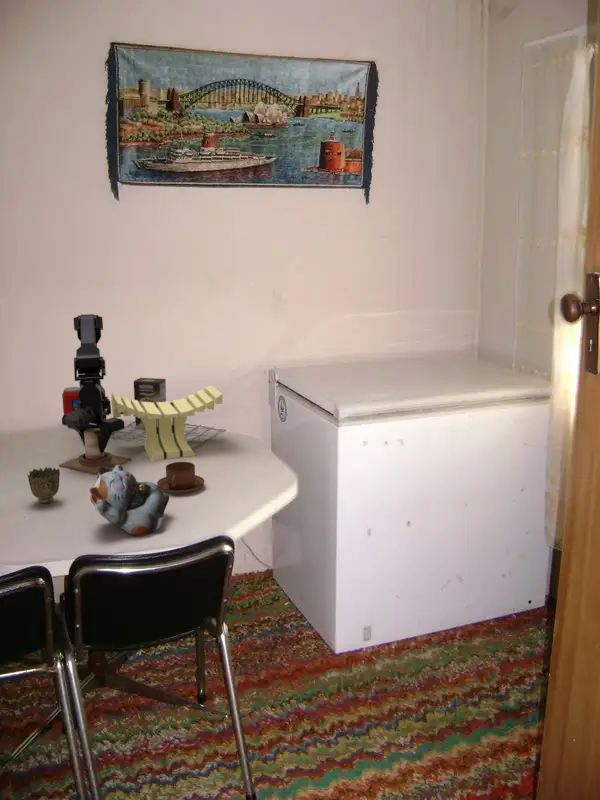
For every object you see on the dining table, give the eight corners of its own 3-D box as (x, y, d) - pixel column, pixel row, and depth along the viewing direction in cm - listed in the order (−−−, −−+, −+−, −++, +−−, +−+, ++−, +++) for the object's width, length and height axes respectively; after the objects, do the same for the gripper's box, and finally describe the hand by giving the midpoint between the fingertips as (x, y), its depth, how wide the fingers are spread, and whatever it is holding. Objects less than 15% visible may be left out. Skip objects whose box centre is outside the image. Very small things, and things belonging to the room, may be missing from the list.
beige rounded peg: (95, 454, 215) (93, 427, 214) (108, 457, 213) (106, 429, 211) (81, 459, 211) (79, 431, 209) (95, 462, 209) (93, 434, 207)
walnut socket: (95, 453, 222) (94, 446, 221) (131, 460, 215) (130, 453, 214) (59, 466, 210) (58, 459, 209) (96, 474, 203) (95, 467, 203)
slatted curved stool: (211, 438, 237) (209, 383, 233) (223, 452, 222) (222, 394, 218) (114, 447, 227) (110, 390, 223) (120, 463, 212) (117, 402, 208)
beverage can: (81, 426, 250) (79, 391, 248) (61, 426, 251) (58, 391, 248) (87, 420, 257) (85, 386, 254) (68, 420, 257) (65, 386, 254)
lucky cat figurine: (156, 539, 162) (117, 485, 156) (107, 555, 167) (67, 503, 160) (178, 492, 176) (143, 441, 170) (132, 508, 181) (96, 458, 175)
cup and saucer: (205, 495, 188) (204, 472, 187) (157, 498, 186) (155, 475, 185) (203, 479, 200) (202, 457, 198) (157, 482, 198) (156, 460, 196)
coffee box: (135, 428, 247) (132, 381, 243) (142, 423, 253) (139, 377, 249) (161, 430, 246) (159, 382, 242) (168, 424, 252) (165, 377, 248)
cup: (37, 496, 187) (34, 466, 185) (66, 497, 187) (63, 466, 185) (25, 508, 180) (22, 476, 178) (55, 508, 180) (53, 476, 178)
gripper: (44, 399, 206) (49, 453, 209) (94, 408, 197) (98, 464, 200) (74, 391, 215) (78, 443, 219) (124, 399, 206) (127, 453, 210)
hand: (94, 451), depth 212 cm, fingers closed on beige rounded peg, 5 cm apart
